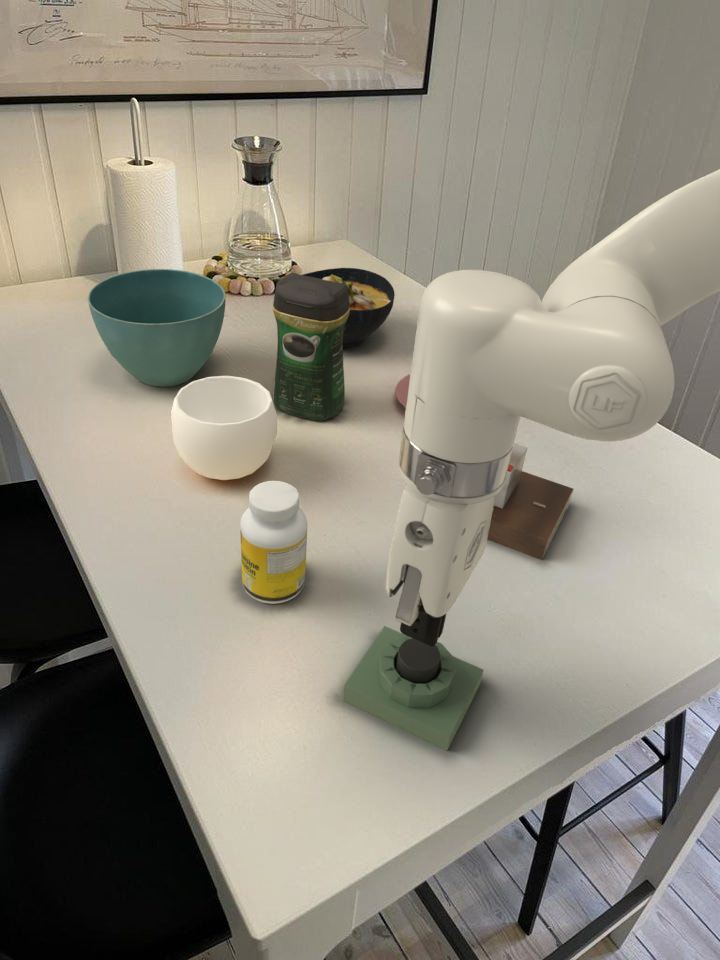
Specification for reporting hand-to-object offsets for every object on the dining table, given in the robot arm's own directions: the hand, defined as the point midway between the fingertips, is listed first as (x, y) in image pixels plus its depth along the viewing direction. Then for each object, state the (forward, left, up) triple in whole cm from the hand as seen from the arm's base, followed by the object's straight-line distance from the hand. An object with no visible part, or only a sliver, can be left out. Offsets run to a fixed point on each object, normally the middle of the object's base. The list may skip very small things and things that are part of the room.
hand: (420, 633), depth 63 cm
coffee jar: (+33, -37, -8) cm, 50 cm away
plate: (+17, -48, -8) cm, 52 cm away
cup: (+34, -19, -8) cm, 40 cm away
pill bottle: (+18, -5, -8) cm, 20 cm away
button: (0, 0, -4) cm, 4 cm away
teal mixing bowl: (+55, -33, -8) cm, 65 cm away
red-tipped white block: (+2, -29, -5) cm, 30 cm away
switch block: (0, 0, -8) cm, 8 cm away
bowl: (+40, -58, -8) cm, 71 cm away
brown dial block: (+2, -29, -8) cm, 30 cm away
